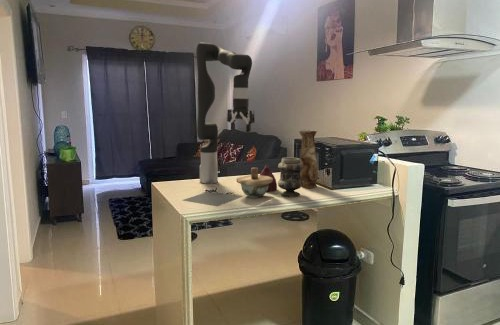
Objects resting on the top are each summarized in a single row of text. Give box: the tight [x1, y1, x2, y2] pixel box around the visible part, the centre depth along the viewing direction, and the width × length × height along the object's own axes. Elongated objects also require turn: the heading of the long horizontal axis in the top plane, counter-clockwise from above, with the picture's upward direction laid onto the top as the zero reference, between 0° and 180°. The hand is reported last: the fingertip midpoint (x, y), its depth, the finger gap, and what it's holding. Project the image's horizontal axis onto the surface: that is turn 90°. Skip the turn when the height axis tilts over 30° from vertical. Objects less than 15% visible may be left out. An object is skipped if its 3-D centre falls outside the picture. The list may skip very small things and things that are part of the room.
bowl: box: [240, 184, 269, 199], centre depth 181 cm, size 14×13×8 cm
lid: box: [236, 167, 273, 185], centre depth 179 cm, size 17×17×6 cm
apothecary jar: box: [277, 157, 303, 198], centre depth 185 cm, size 12×12×18 cm
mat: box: [182, 191, 244, 207], centre depth 178 cm, size 20×20×1 cm
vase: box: [298, 129, 319, 189], centre depth 202 cm, size 10×11×30 cm
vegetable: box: [259, 164, 278, 193], centre depth 195 cm, size 10×10×15 cm
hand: (240, 131), depth 186 cm, fingers open, 8 cm apart
